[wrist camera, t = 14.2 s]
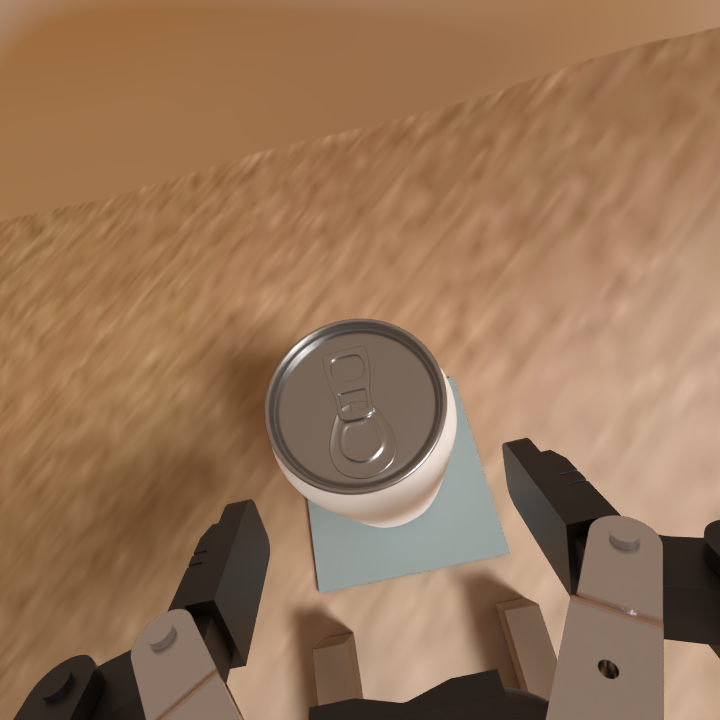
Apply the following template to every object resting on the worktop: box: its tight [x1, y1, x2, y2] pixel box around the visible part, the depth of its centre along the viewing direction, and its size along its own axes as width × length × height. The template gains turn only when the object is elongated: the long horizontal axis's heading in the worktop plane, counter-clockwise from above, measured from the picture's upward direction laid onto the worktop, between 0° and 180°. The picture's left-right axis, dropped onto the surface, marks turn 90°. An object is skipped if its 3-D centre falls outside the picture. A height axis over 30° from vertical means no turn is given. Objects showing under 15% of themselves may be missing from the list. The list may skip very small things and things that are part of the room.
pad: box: [307, 377, 510, 593], centre depth 23 cm, size 10×10×1 cm
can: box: [265, 319, 457, 528], centre depth 17 cm, size 6×6×12 cm
